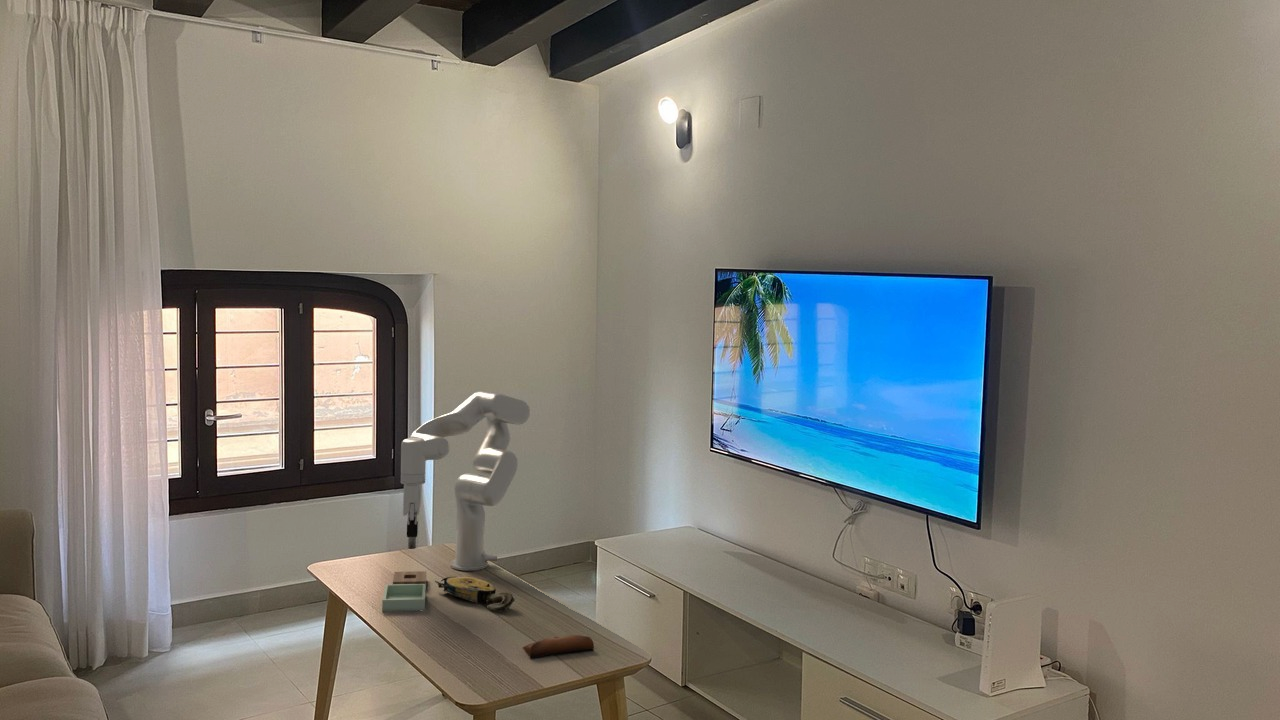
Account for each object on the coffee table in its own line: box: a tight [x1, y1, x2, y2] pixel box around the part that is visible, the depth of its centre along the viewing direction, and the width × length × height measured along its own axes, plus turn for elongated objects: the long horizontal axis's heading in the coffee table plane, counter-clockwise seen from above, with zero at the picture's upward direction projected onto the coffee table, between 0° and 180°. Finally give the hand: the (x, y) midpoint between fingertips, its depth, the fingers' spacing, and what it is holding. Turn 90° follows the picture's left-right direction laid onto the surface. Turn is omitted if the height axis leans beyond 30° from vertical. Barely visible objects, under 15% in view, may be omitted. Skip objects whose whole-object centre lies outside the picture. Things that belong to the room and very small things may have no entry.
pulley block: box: [434, 576, 515, 612], centre depth 291 cm, size 14×6×30 cm
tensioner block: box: [392, 570, 427, 585], centre depth 300 cm, size 10×10×3 cm
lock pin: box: [407, 537, 417, 550], centre depth 300 cm, size 2×2×8 cm
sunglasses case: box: [522, 634, 595, 659], centre depth 255 cm, size 18×7×7 cm
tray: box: [381, 583, 427, 613], centre depth 285 cm, size 12×14×4 cm
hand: (412, 534), depth 300 cm, fingers closed on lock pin, 2 cm apart
